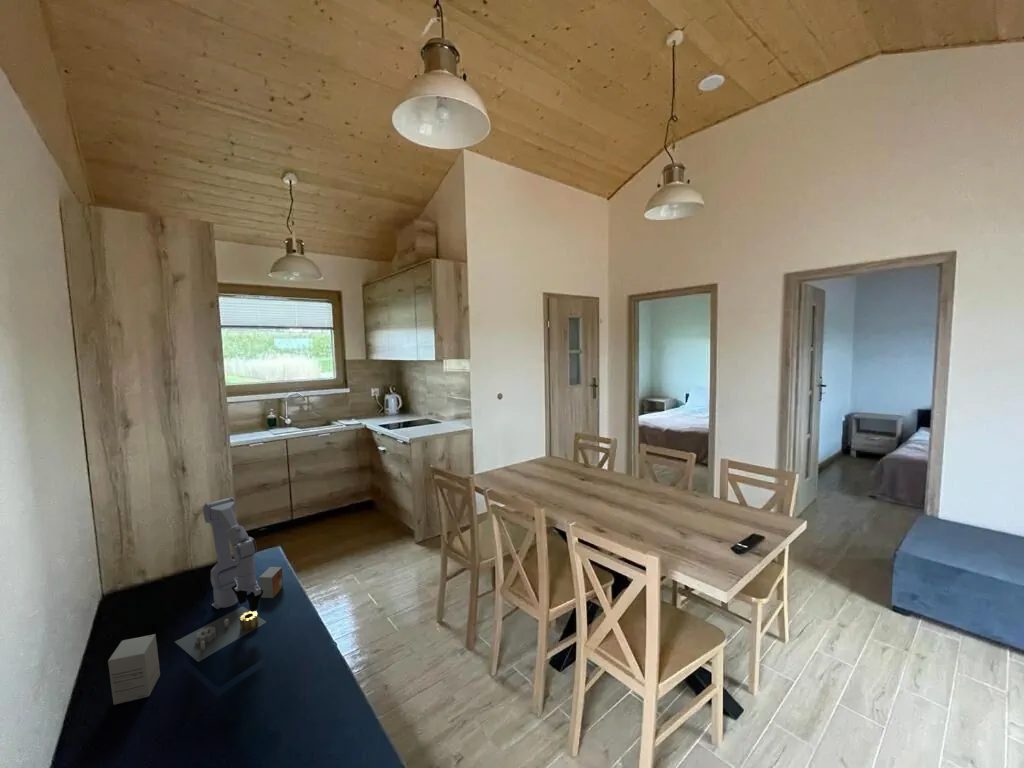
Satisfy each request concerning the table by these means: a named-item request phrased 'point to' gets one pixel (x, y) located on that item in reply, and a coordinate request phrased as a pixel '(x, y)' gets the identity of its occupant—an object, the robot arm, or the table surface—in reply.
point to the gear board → (215, 635)
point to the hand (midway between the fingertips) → (248, 606)
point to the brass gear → (249, 620)
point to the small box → (271, 582)
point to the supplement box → (134, 669)
